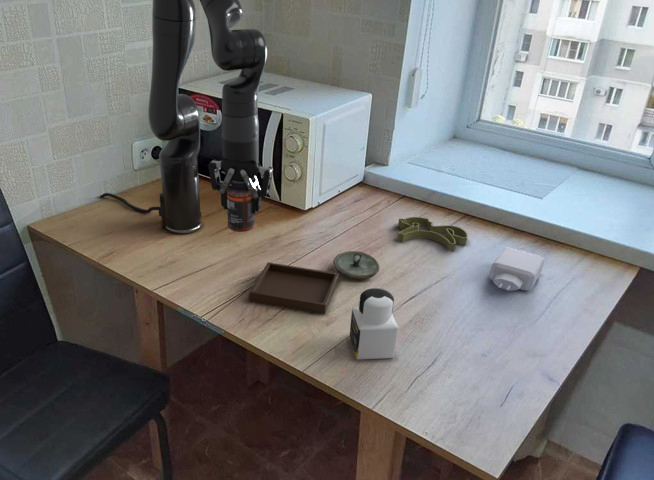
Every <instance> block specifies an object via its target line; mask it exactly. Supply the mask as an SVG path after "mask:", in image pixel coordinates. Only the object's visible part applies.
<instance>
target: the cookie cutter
mask: <svg viewBox="0 0 654 480" xmlns="http://www.w3.org/2000/svg"><path fill="white" fill-rule="evenodd" d="M397 226H398V227H399V228H400V231H399V232H398V233H397V241H398V242H402V243H404V242H406V241H409V240H412V239H428V240H432V241H435V242H438V243H440V244H442V245H443V246H444V247H445V248H446V249H447V251H448V252H455V248H456V245H461V246H467V242H468V233H467V231H466V230H465V229H464V228H462V227H459V226H456V225H449V224H447V225H446V224H444V225H434V222H433V221H431V220H430V218H426V217H420V216H409V217H405V218H398V224H397ZM420 226H425V227H426V228H427V229H428V230H420ZM442 234H444V235H442Z"/></svg>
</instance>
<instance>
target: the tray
mask: <svg viewBox="0 0 654 480" xmlns="http://www.w3.org/2000/svg"><path fill="white" fill-rule="evenodd" d="M339 275H340V272H333V271H332V272H331V271H326V270H325V271H324V270H320V269H312V268H307V267H300V266H294V265H287V264H280V263H276V262H275V263H274V262H267V263H266V265H265V266H264V268H263V269H262V271H261V273H260V274H259V275H258V277H257V279H256V280H255V282H254V283H253V285H252V287H251V289H250V290H249V292H248V301H249V302H252V303H256V304H264V305H269V306H274V307H280V308H286V309H291V310H297V311H304V312H307V313H314V314H319V315H326V312H327V310H328V308H329V306H330V303H331V300H332V298H333V297H334V294H335V291H336V289H337V286H338V283H339Z"/></svg>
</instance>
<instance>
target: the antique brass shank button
mask: <svg viewBox="0 0 654 480" xmlns="http://www.w3.org/2000/svg"><path fill="white" fill-rule="evenodd" d="M332 262H333V263H332V264H333V268H334V269H335V270H336V271H337V273H339V274H341V275H342V276H345V277H347V278H350V279H354V280H366V279H369V278H372V277H374V276H375V275H377V274H378V272H379V271H380V265H379V263H378V261H377V259H375V257H373V256H372V255H370V254H368V253H366V252H363V251H357V250H354V251H353V250H352V251H344V252H340V253H338V254H337V255H336V256H335V257H334V258H333V261H332Z"/></svg>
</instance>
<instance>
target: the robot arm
mask: <svg viewBox="0 0 654 480" xmlns="http://www.w3.org/2000/svg"><path fill="white" fill-rule="evenodd" d="M199 2H200V5H201V7H202V9H203V12H204V15H205V18H206V20H207V25H208V32H209V38H210V39H209V40H210V50H211V51H210V52H211V58H212V60H213V62H214V63H215V65H216V66H217V67H218V68H219V69H220V70H222V71H227V72H229V71H230V72H231V71H238V70H239V74H238V76H237V77H236V78H233V79H231V80H230V81H227V82H225V83H224V84H223V85H222V89H221V99H222V100H221V109H222V110H221V111H222V117H221V128H220V134H221V155H222V160H217V159H213V160H211V161H210V162H209V163H208V164H207V167H208V173H209V178H210V179H209V180H210V184H211V189H212V190H214V191H218V192H219V193H220V205H221V207H223V210H226V211H227V190H228V188H229V187H231V180H235V181H243V182H245V183H246V185H247V187H248V189H249V190H250V191H251V193H252V196H253V198H252V213H253V214H254V215H256V214H257V213H258V212H259V211H260V210H261V207H262V198H265V197H266V196H267V195H268V194H269V193H270V192H271V186H272V180H273V173H274V167H272V166H268V167H265V166H261V164H260V161H259V153H260V152H259V151H260V150H259V149H260V148H259V147H260V146H259V145H260V144H259V141H260V139H259V137H260V135H259V133H260V131H259V129H260V122H259V115H258V114H259V113H258V107H259V97H258V96H259V90H260V85H261V82H262V78H263V74H264V71H265V67H266V64H267V59H268V43H267V40H266V37H265V35H264V34H263V32H261V30H259V29H257V28H243V29H242V28H240V29H231V28H233V27H235V26H236V25H238V24H239V23H240V22H241V21H242V18H243V15H244V10H243V6H242V3H241V1H240V0H199ZM151 16H152V17H151V30H152V31H151V33H152V34H151V37H152V55H151V56H152V58H151V79H150V90H149V100H148V110H147V111H148V112H147V113H148V114H147V115H148V124H149V128H150V130H151V132H152V134H153V135H154V136H155V138H157V139H158V140H160V141H162V142H167V143H166V144H165V145H164V147H163V148H162V149H161V150H160V152H159V155H158V159H159V169H160V170H159V171H160V180H161V192H160V193H159V195H158V196H159V204H160V205H159V206H150V207H148V209H145V208H141V207H137V206H135V205H133V204H131V203H130V202H128V201H127V200H126V199H125V198H123V197H121V196H118V195H116V194H113V193H111V192H104V193H102V194H103V195H102V194H101V195H100V196H99V198H100V199H103V198H105V197H109V198H113V199H115V200H117V201H120V202H122V203H123V204H124V205H125V206H126V207H128V208H129V209H132V210H134V211H137V212H139V213H144V214H150V213H152V211H158V216H159V217H161V226H162V229H163V230H166V231H168V233H169V232H170V233H173V234H176V235H177V234H178V235H179V234H180V235H184V234H185V235H186V234H192V233H194V232H197V231H199V230H200V229H201V227H202V226H203V225H202V224H203V223H202V218H203V216H202V211H201V197H200V196H201V195H200V181H199V165H198V156H199V154H200V150H201V118H200V113H199V109H198V106H197V104H196V102H195V101H194V99H193V98H192V97H190V96H189V95H187V94H183V93H179V86H180V81H181V77H182V74H183V72H184V69H185V67H186V66H187V64H188V61H189V58H190V56H191V53H192V51H193V48H194V45H195V40H196V28H197V27H196V26H197V25H196V24H197V8H196V4H195V2H194V0H152V11H151ZM178 93H179V94H178ZM221 169H222V171H223V172H224V174H225V177H224V180H223V182H222V180H221V175H220V174H221V173H220V171H221ZM258 173H260V177H261V179H262V184H261V186H260V185H259V180H258V178H257V174H258Z"/></svg>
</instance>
